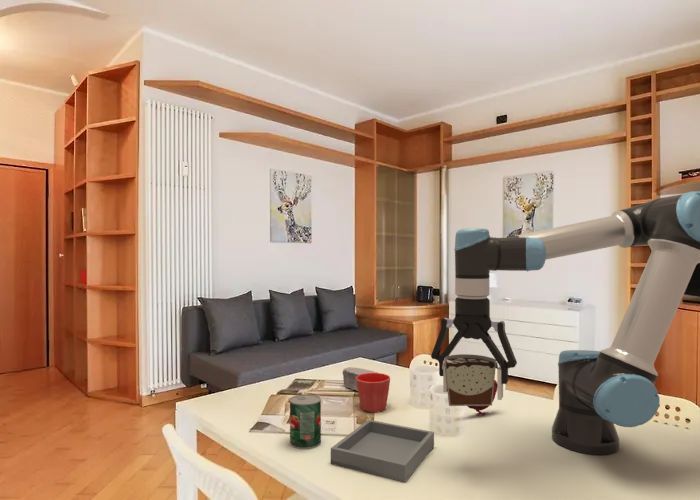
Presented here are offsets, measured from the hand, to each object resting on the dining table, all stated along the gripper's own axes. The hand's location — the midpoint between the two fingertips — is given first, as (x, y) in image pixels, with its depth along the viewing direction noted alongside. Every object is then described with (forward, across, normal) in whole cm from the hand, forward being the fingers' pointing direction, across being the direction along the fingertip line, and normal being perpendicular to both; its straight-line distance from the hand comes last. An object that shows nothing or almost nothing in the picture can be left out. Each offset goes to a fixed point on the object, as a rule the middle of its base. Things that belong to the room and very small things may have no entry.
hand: (472, 394), depth 101 cm
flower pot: (+16, +36, -24) cm, 46 cm away
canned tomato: (+16, +40, +7) cm, 44 cm away
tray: (+16, +20, +4) cm, 26 cm away
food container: (+2, +1, 0) cm, 2 cm away
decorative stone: (+16, +48, -40) cm, 64 cm away
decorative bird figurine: (+16, +6, -32) cm, 36 cm away
